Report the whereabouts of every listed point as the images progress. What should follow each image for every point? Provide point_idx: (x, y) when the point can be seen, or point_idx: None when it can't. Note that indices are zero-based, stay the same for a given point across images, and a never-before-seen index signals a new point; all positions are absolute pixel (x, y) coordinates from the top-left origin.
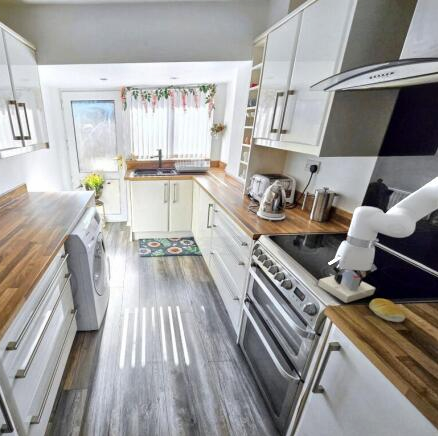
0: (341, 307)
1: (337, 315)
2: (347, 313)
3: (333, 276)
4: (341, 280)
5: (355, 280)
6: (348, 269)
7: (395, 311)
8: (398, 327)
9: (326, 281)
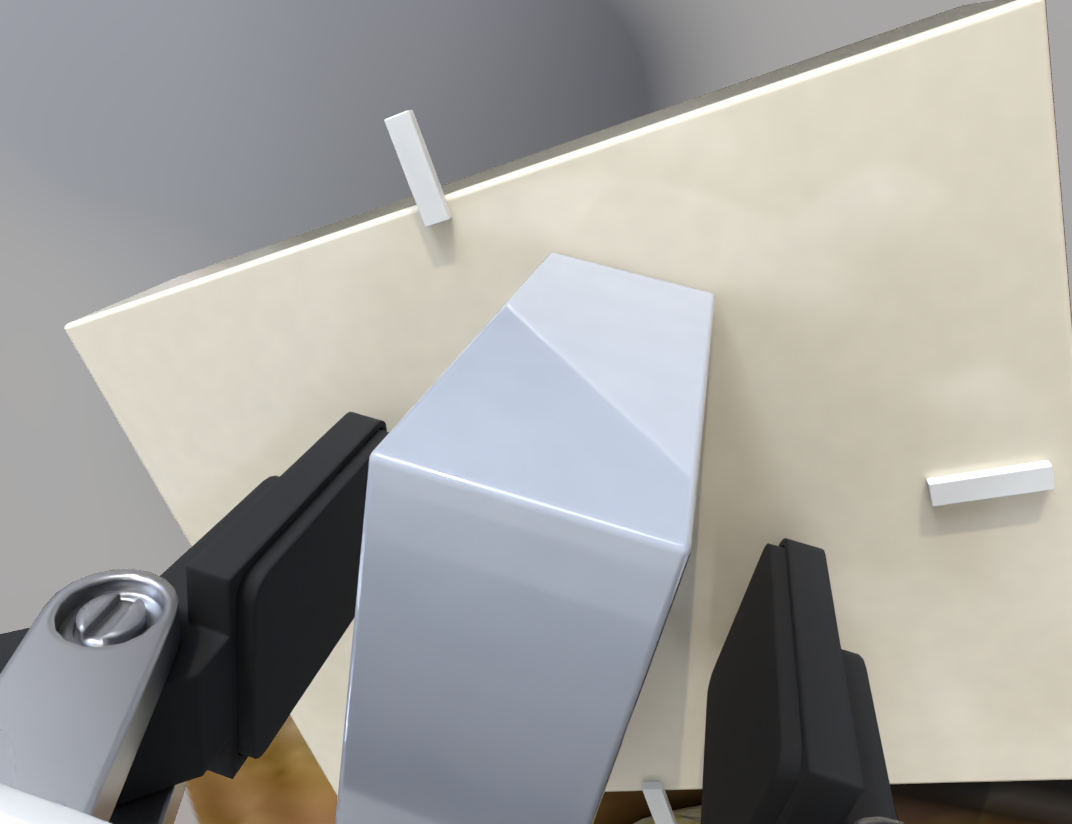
0: (294, 730)
1: (193, 795)
2: (307, 802)
3: (436, 242)
4: (331, 645)
5: None
6: (446, 814)
7: None
8: None
9: (174, 420)
